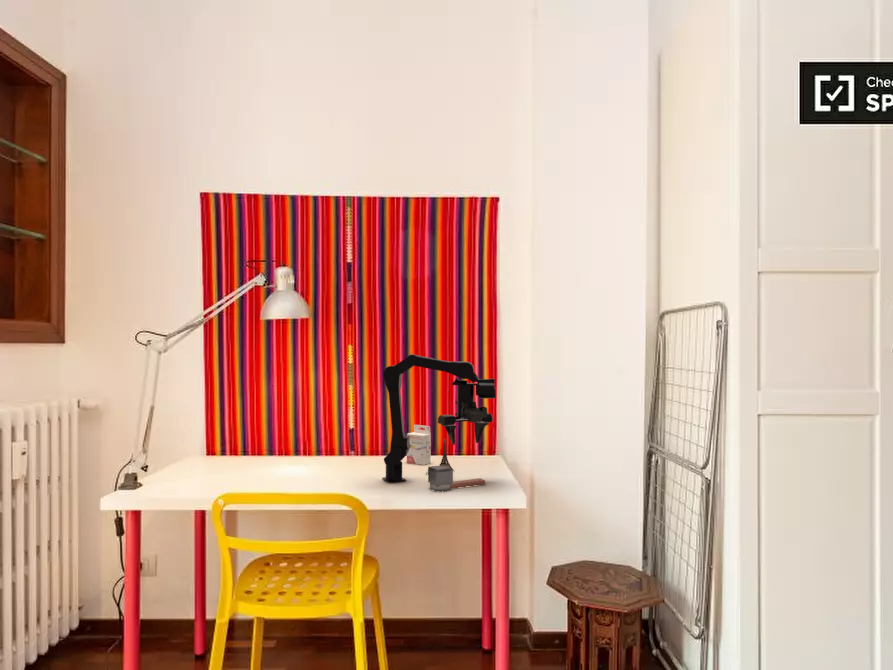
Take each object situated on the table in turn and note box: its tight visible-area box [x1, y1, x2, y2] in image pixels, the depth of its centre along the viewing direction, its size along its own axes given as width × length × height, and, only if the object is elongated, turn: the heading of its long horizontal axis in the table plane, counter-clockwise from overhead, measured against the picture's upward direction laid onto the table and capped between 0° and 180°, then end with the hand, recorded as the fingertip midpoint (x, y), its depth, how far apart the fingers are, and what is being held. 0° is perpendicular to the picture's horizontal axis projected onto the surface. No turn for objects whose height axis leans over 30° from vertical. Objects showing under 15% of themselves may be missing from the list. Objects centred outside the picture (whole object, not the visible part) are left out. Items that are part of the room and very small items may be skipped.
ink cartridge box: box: [406, 424, 432, 466], centre depth 246 cm, size 9×5×15 cm, turn 58°
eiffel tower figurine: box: [438, 438, 455, 472], centre depth 232 cm, size 15×10×13 cm
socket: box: [427, 464, 454, 486], centre depth 205 cm, size 6×6×5 cm
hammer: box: [429, 477, 486, 493], centre depth 208 cm, size 20×7×5 cm, turn 118°
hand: (465, 443), depth 215 cm, fingers open, 9 cm apart
